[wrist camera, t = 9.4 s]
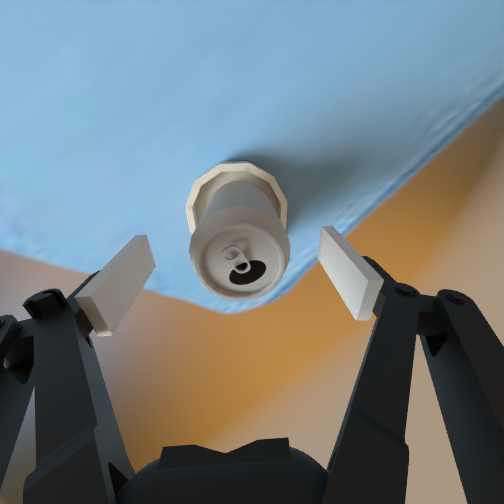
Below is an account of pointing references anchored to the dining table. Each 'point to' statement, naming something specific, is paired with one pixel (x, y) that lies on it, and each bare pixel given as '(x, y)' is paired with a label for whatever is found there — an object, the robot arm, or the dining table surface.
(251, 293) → the can
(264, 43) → the dining table surface
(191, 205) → the bowl
